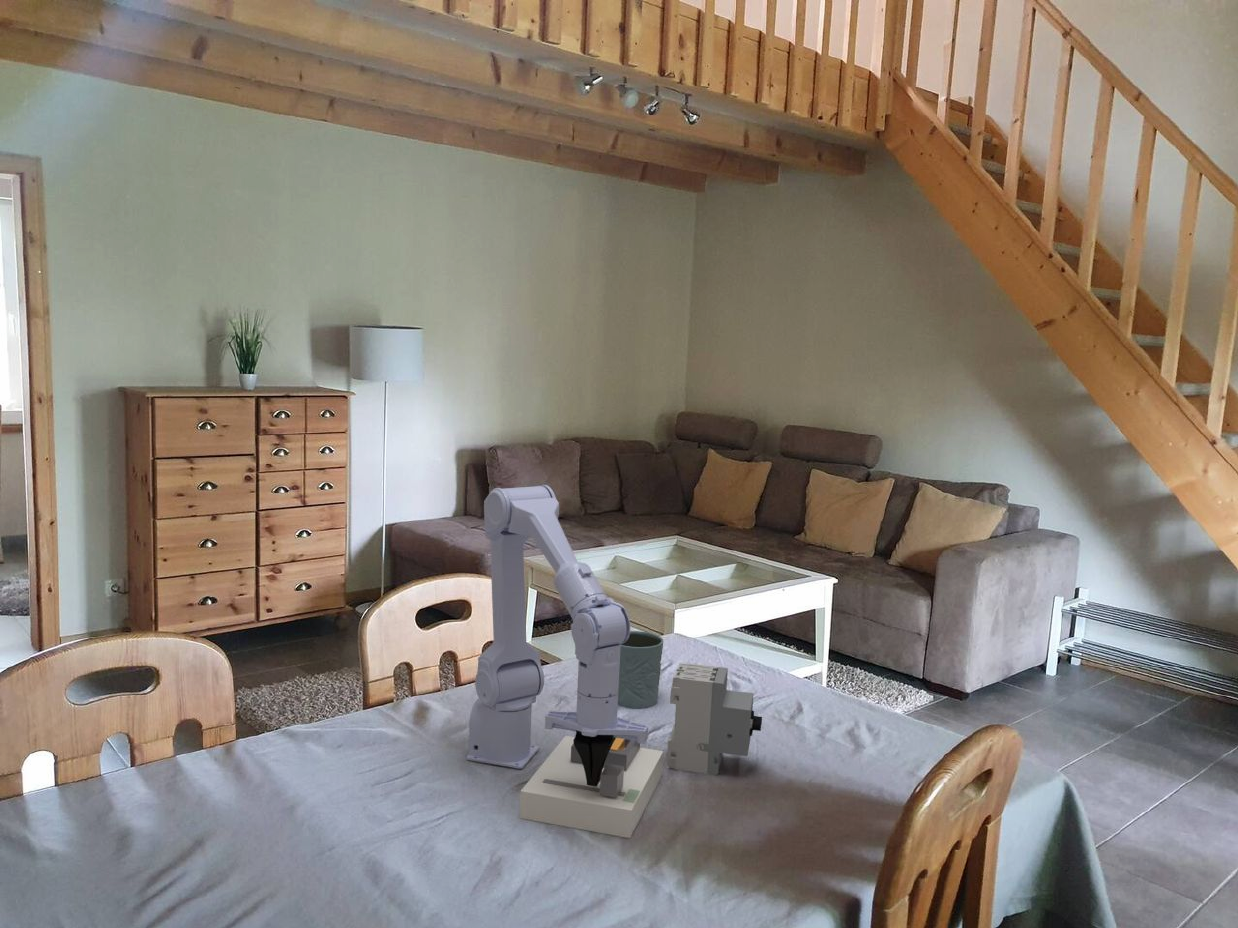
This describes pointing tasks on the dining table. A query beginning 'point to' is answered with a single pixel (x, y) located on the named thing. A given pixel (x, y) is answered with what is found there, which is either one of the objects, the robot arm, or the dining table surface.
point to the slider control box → (591, 790)
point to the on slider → (611, 780)
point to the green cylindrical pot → (639, 670)
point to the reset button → (618, 745)
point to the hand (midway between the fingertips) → (593, 782)
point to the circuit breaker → (708, 719)
